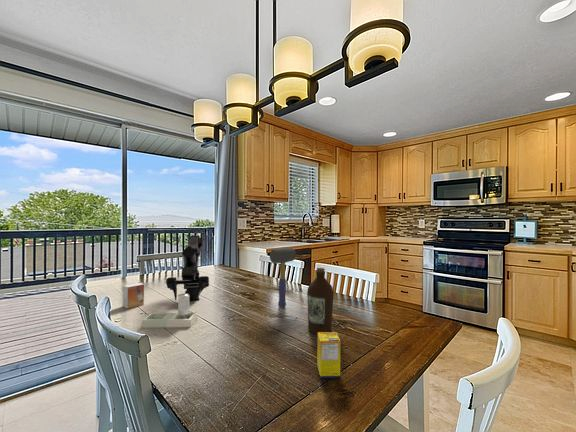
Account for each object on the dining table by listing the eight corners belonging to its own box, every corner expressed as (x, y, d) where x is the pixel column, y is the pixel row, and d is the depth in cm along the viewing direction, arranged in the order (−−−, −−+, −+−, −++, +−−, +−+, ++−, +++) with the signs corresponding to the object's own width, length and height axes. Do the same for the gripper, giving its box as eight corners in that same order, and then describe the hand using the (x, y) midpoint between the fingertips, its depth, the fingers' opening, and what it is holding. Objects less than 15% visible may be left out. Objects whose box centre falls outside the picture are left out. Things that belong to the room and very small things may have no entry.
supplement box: (336, 367, 84) (336, 331, 84) (340, 378, 78) (341, 340, 78) (316, 367, 84) (317, 331, 84) (319, 379, 78) (320, 340, 78)
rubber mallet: (277, 312, 130) (277, 249, 130) (267, 308, 135) (268, 247, 135) (296, 307, 138) (297, 247, 138) (286, 303, 144) (287, 246, 143)
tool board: (142, 327, 111) (142, 320, 111) (151, 319, 119) (151, 312, 119) (190, 327, 112) (190, 319, 112) (196, 319, 120) (196, 312, 120)
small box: (127, 309, 132) (127, 287, 132) (122, 306, 135) (122, 285, 135) (144, 304, 138) (144, 284, 138) (139, 302, 141) (139, 282, 141)
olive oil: (313, 322, 118) (314, 265, 118) (336, 328, 113) (337, 267, 113) (302, 331, 109) (303, 269, 109) (327, 338, 104) (328, 272, 103)
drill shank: (186, 320, 119) (186, 292, 119) (190, 323, 116) (191, 295, 116) (176, 323, 116) (176, 294, 116) (180, 326, 113) (180, 297, 113)
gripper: (167, 260, 126) (161, 290, 116) (209, 259, 130) (207, 288, 120) (170, 273, 134) (165, 303, 123) (209, 272, 138) (208, 300, 128)
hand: (186, 298), depth 123 cm, fingers open, 9 cm apart
